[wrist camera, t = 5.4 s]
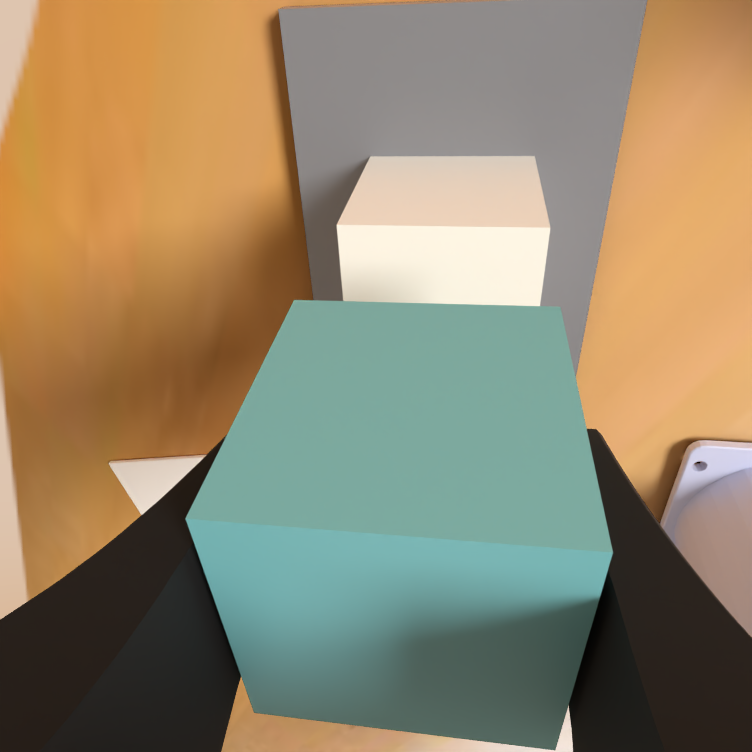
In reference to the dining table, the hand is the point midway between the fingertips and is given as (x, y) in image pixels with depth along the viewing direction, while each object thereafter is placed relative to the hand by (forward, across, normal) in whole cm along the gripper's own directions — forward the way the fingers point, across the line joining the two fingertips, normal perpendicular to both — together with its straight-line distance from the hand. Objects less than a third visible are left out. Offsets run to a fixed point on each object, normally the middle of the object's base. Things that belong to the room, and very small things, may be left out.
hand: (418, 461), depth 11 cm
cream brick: (+10, 0, 0) cm, 10 cm away
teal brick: (+2, 0, 0) cm, 2 cm away
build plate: (+10, 0, 0) cm, 10 cm away
